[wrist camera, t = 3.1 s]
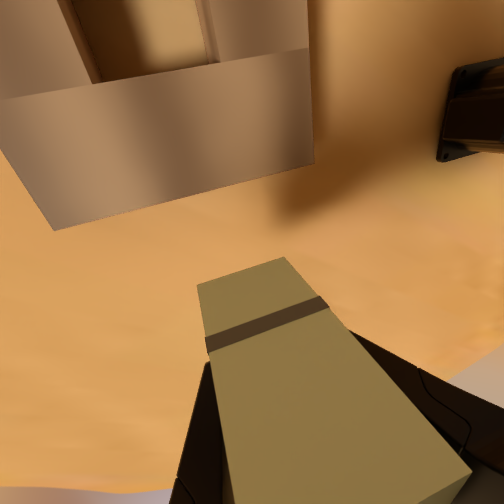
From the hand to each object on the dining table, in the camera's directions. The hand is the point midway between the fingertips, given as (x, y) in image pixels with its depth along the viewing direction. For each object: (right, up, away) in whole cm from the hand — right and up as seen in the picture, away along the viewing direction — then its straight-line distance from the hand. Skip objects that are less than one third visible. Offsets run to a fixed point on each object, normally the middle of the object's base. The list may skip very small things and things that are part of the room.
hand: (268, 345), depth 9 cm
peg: (-1, +1, +2) cm, 3 cm away
